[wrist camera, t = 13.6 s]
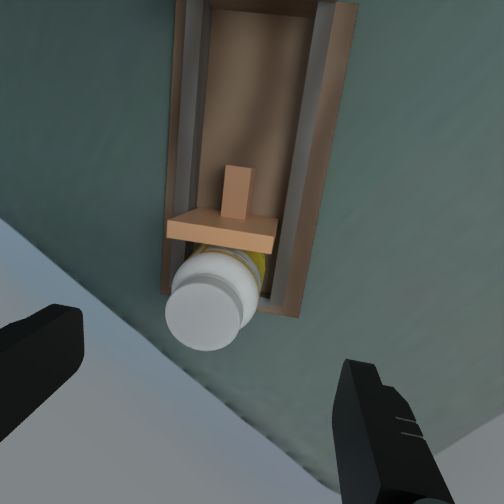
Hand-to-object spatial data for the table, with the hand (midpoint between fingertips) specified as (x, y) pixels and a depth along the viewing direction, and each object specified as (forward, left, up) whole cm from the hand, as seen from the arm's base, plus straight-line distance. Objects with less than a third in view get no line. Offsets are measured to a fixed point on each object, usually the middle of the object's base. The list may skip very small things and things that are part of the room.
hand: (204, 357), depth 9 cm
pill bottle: (+2, +3, -20) cm, 20 cm away
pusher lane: (+2, -5, -20) cm, 21 cm away
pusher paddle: (+2, -3, -19) cm, 20 cm away
